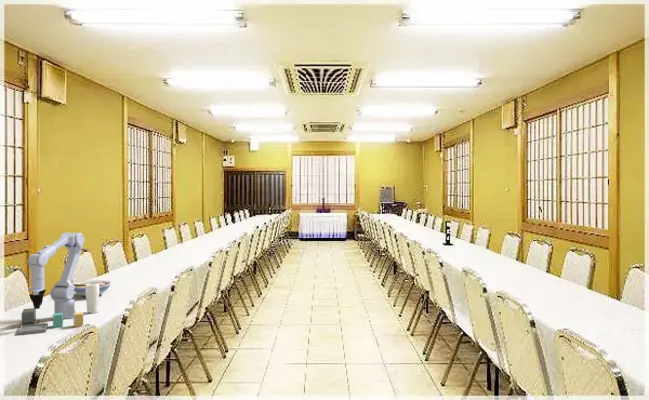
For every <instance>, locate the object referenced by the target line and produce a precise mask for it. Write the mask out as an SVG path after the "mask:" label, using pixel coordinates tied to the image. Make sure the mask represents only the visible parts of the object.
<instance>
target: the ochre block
mask: <svg viewBox="0 0 649 400" xmlns="http://www.w3.org/2000/svg"><path fill="white" fill-rule="evenodd" d="M82 325H83V326H84V312H75V313H74V318H73V328H81V327H80V326H82Z"/></svg>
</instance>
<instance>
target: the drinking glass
mask: <svg viewBox="0 0 649 400" xmlns="http://www.w3.org/2000/svg"><path fill="white" fill-rule="evenodd" d="M85 293H86V297H85V301H86V313H87V314H96V313H98V312H99V301H100V300H99V298H100V294H99V284H97V283H92V284H87V285H86V286H85Z"/></svg>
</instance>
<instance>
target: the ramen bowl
mask: <svg viewBox="0 0 649 400" xmlns="http://www.w3.org/2000/svg"><path fill="white" fill-rule="evenodd" d="M92 283H97V284H99V295H101V294H103V293H104V292H106V291H107V290H108V289H109V287H110V286H111V284H112V282H111V280H110V281H109V280H100V279H99V280H98V279H97V280H85V281H84V280H83V281H78V282H75V283H72V284H73V285H74V287H75V288H74V294H77V295H79V296H83V297H85V298H86V293H85V286H86V285H87V284H92Z"/></svg>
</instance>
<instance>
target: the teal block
mask: <svg viewBox="0 0 649 400" xmlns="http://www.w3.org/2000/svg"><path fill="white" fill-rule="evenodd" d="M63 326H64V319H63V313H53V314H52V328H53V329H56V328H63Z"/></svg>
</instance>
